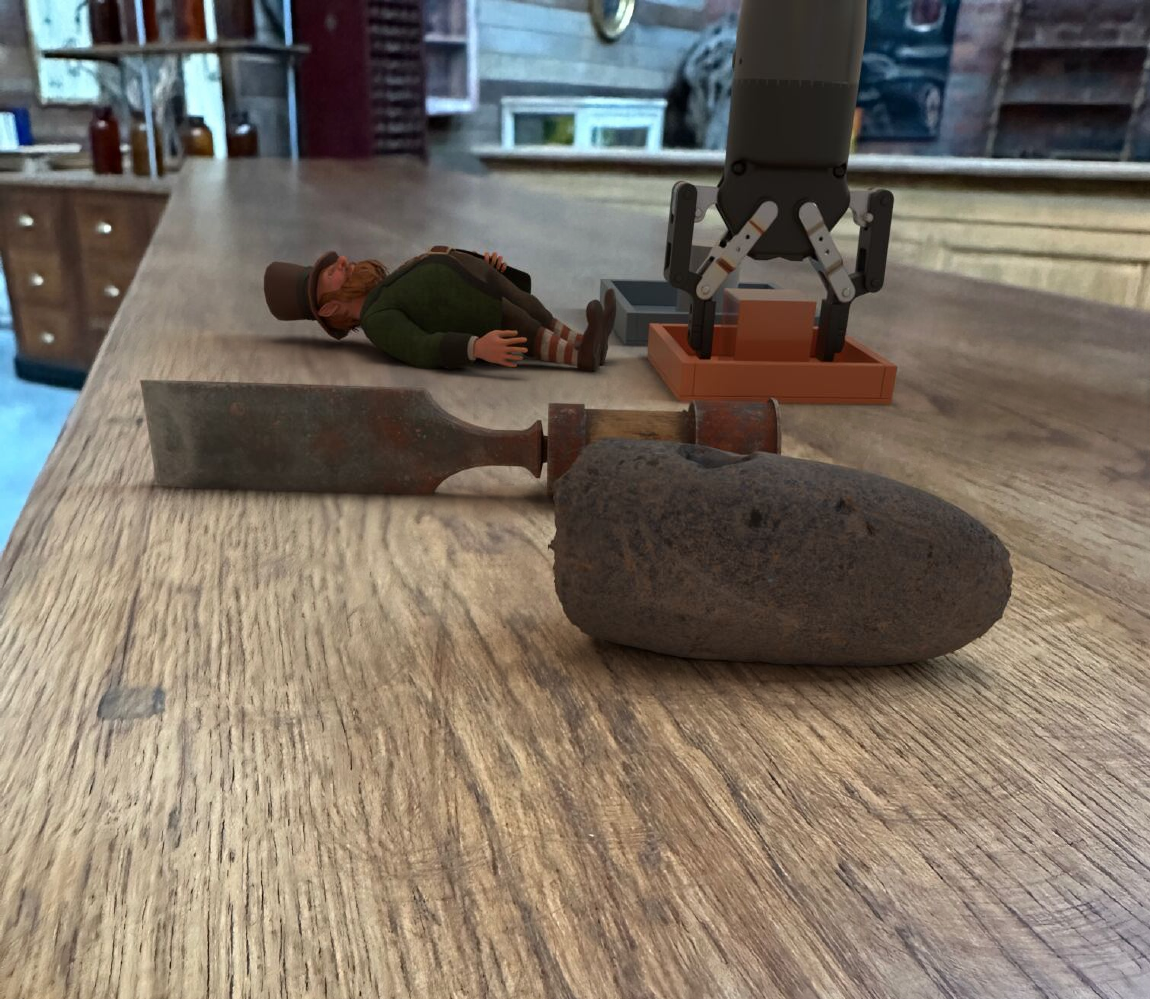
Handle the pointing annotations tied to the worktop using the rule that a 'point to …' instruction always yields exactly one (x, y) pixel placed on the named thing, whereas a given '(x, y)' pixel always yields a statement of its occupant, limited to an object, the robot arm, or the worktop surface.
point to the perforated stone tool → (768, 558)
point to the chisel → (396, 436)
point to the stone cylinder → (696, 260)
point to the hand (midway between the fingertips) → (763, 358)
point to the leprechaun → (438, 309)
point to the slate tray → (654, 306)
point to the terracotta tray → (770, 373)
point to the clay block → (766, 325)
